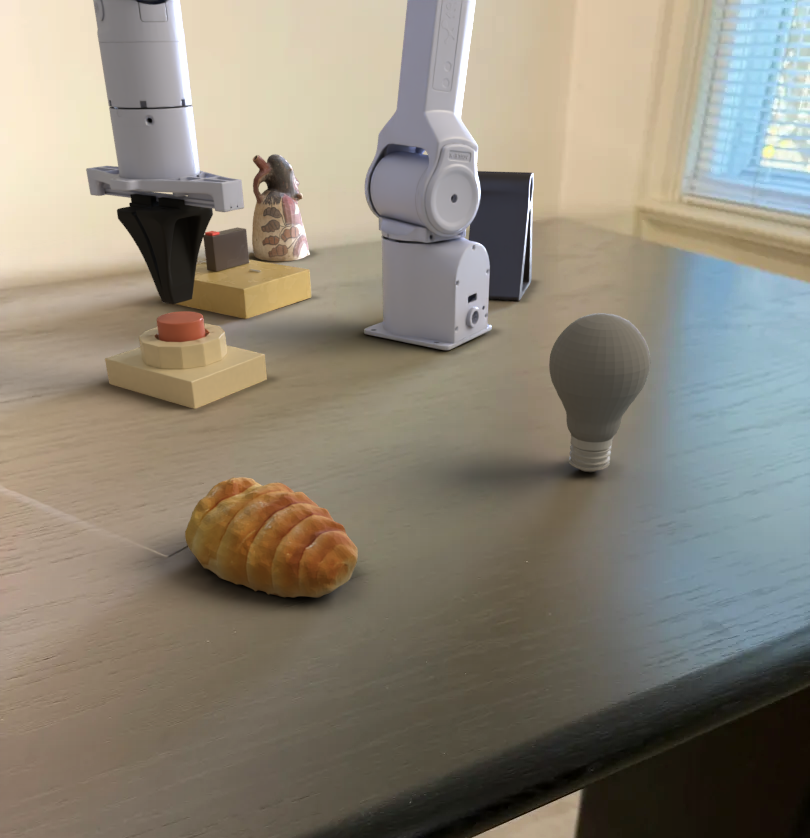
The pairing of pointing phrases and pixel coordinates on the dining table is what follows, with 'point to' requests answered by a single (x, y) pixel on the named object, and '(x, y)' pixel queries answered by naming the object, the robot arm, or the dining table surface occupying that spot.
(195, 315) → the bell button
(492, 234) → the phone stand
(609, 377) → the light bulb
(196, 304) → the plate
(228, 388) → the block
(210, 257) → the thumb turn
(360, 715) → the dining table surface
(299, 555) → the pastry
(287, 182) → the figurine
